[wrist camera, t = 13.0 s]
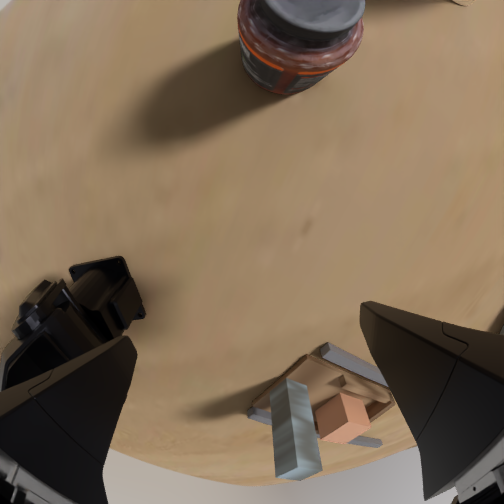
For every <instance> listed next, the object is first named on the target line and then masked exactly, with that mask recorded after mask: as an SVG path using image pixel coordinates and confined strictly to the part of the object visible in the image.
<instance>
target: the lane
mask: <svg viewBox="0 0 504 504" xmlns="http://www.w3.org/2000/svg"><path fill="white" fill-rule="evenodd" d="M320 351H321V355H322V358H325V359H327V360H329V361H331V362H333V363H335V364H337V365H339V366H342V367H344V368H346V369H348V370H350V371H353V372H355V373H357V374H359V375H362V376H364V377H366V378H368V379H371V380H373V381H375V382H378V383H380V384H382V385H385V386H387V387H388V385H387V383H386V381H385V379H384V377H383V376H382V374H381V372H380V370H379V368H378V367H376V366H374V365H372V364H370V363H368V362H366V361H364V360H362V359H360V358H358V357H356V356H354V355H352V354H350V353H348V352H346V351H344V350H342V349H340V348H338V347H336V346H334V345H332V344H331V343H329V342H327V343H326V344H325V345H324V346H323V347H322V348H321V349H320ZM248 418H249V419H252V420H255V421H258V422H262V423H265V424H268V425H271V426H272V419H271V412H268V411H265V410H262V409H259V408H256V407H252V408H250V409H249V410H248ZM316 436H317V437H318V438H320V434H316ZM348 444H354V445H360V446H367V447H375V448H378V447H380V446H381V445H383V444H382V441H381V440H380V439H374V438H368V437H363V436H357V437H356V438H354V439H353V440H351V441H349V442H348Z"/></svg>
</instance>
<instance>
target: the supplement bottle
mask: <svg viewBox="0 0 504 504" xmlns="http://www.w3.org/2000/svg"><path fill="white" fill-rule="evenodd" d="M364 10H365V0H241V1H240V4H239V7H238V17H237V19H238V32H239V39H240V48H241V57H242V62H243V66H244V68H245V71H246V73H247V74H248V76H249V77H250V78H251V79H252V80H253V82H255V83H256V84H257V85H258V86H260V87H261V88H263V89H265V90H268V91H270V92H274V93H278V94H294V93H299V92H302V91H304V90H306V89H308V88H310V87H312V86H313V85H315V84H316V83H317V82H318V81H320V80H321V79H323V78H324V77H325V76H327V75H328V74H329V73H331V72H332V71H333V70H335V69H336V68H338V67H339V66H340V65H342V64H343V63H345V62H346V61H347V60H348V59H349V58H351V57H352V55H353V54H354V53H355V52H356V50H357V49H358V47H359V45H360V43H361V40H362V36H363V30H364V28H363V19H362V15H363V13H364Z"/></svg>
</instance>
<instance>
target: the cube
mask: <svg viewBox="0 0 504 504" xmlns="http://www.w3.org/2000/svg"><path fill="white" fill-rule="evenodd" d="M315 414H316V419H317V424H318V429H319V434H320V439H321V440H325V441H330V442H335V443H341V444H346V443H348V442H349V441H351V440H353V439H354V438H356V437H357V436H359V435H360V434H362V433H363V432H365V431H366V430H368V429H369V428H371V424H370V421H369V418H368V415H367V412H366V409H365V406H364V403H363V401H362V400H360V399H357V398H354V397H351V396H348V395H345V394H343V393H339V394H338V395H336V396H335V397H334V398H332V399H331V400H330V401H328V402H327V403H326V404H324V405H323V406H322V407H320V408H319V409H318V410H316V411H315Z"/></svg>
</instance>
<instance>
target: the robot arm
mask: <svg viewBox="0 0 504 504" xmlns="http://www.w3.org/2000/svg"><path fill="white" fill-rule="evenodd" d="M118 260H119V261H120V262H121V264H120V263H119V262H118ZM74 270H75V272H74ZM69 272H70V274H71V277H72V279H73V281H74V284H73V285H72V286H71V287H70V288H69V289H68V288H67V286H66V283H65V281H64V280H63V279H61V280H60V281H58V282H57V283H56V281H55V282H54V283H53V282H52V283H51V282H48V281H46V280H44V281H42V282H41V283H40V284H39V285H38V286H37V287H36V288H35V289H34V290H33V291H32V292H31V293H30V294H29V295H28V296H27V297H26V299H25V300H24V301H23V302H22V304H21V305H20V306H19V315H18V317H17V319H16V321H15V323H14V325H13V327H12V330H11V331H12V332H13V333H14V334H15V337H14V338H13V339H12V341H11V342H10V343H9V344H8V345H7V346H6V347H5V348H4V350H3V352H2V357H1V363H0V504H108V501H107V496H106V492H105V487H104V482H103V475H102V474H103V467H104V466H103V465H104V463H105V460H106V457H107V453H108V450H109V447H110V444H111V440H112V437H113V434H114V431H115V428H116V425H117V422H118V419H119V416H120V413H121V410H122V407H123V404H124V403H125V400H126V398H127V393H128V390H129V387H130V384H131V380H132V376H133V372H134V368H135V364H136V360H137V351H136V349H135V347H134V345H133V343H132V341H131V339H130V338H129V337H128V336H122V334H123V332H124V330H127V329H128V328H129V326H130V324H131V322H132V320H139V319H144V318H145V316H146V312H145V309H144V307H143V305H142V299H141V297H140V295H139V292H138V290H137V287H136V285H135V282H134V279H133V278H132V277H131V275H130V272H129V270H128V267H127V264H126V261H125V259H124V258H123V257H122V256H115V257H111V258H106V259H101V260H96V261H91V262H86V263H81V264H77V265H73V266H71V267H70V269H69ZM139 313H141V314H142V315H141V314H139ZM360 327H361V329H362V332H363V335H364V337H365V340H366V342H367V345H368V348H369V350H370V353H371V355H372V357H373V359H374V361H375V363H376V364H377V366H378V368H379V370H380V372H381V374H382V376H383V377H384V379H385V381H386V383H387V385H388V387H389V389H390V391H391V393H392V395H393V397H394V398H395V400H396V402H397V404H398V406H399V408H400V410H401V412H402V414H403V416H404V418H405V420H406V422H407V424H408V426H409V428H410V430H411V432H412V435H413V437H414V439H415V441H416V443H417V445H418V448H419V451H420V456H421V466H422V476H423V492H424V500H425V501H426V500H428V499H430V498H432V497H435V496H437V495H439V494H440V493H443V492H445V491H447V490H449V489H451V488H452V487H454V486H455V487H456V490H457V492H458V495H457V496H455V497H454V499H453V501H452V503H451V504H504V335H501V334H495V333H490V332H485V331H480V330H475V329H470V328H466V327H461V326H457V325H454V324H450V323H446V322H441V321H438V320H435V319H431V318H428V317H424V316H421V315H417V314H414V313H410V312H407V311H404V310H400V309H397V308H393V307H390V306H387V305H383V304H380V303H377V302H373V301H367V302H363V303H361V305H360Z"/></svg>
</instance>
